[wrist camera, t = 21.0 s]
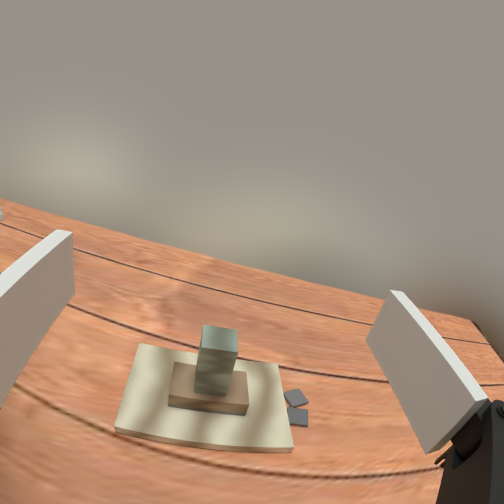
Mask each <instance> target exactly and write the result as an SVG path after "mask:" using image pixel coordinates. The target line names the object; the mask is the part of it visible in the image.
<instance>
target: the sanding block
mask: <svg viewBox="0 0 504 504" xmlns="http://www.w3.org/2000/svg"><path fill="white" fill-rule="evenodd" d="M237 355H238V341H237V330H234V329H227V328H221V327H214V326H208V325H203V330H202V335H201V341H200V347H199V353H198V358H197V364H196V365H192V364H186V363H180V362H174V366H173V371H172V377H171V383H170V389H169V397H168V406H169V407H175V408H181V409H187V410H194V411H201V412H209V413H218V414H227V415H238V416H245V415H246V412H247V410H248V407H249V395H248V384H247V373H246V372H244V371H235V370H233V369H234V365H235V362H236V358H237Z"/></svg>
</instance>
